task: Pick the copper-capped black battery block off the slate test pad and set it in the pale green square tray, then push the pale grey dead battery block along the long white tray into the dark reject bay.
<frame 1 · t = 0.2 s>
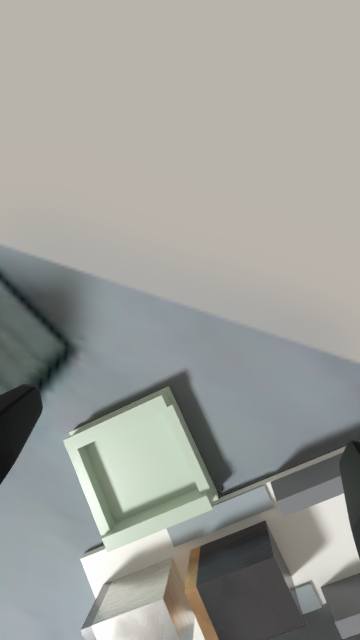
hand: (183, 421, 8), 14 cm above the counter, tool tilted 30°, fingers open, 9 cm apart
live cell: (239, 562, 21), point 1 cm above the counter, touching long white tray
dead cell: (148, 597, 22), point 1 cm above the counter, touching long white tray
long white tray: (245, 554, 21), on the counter
pale green square tray: (142, 461, 23), on the counter
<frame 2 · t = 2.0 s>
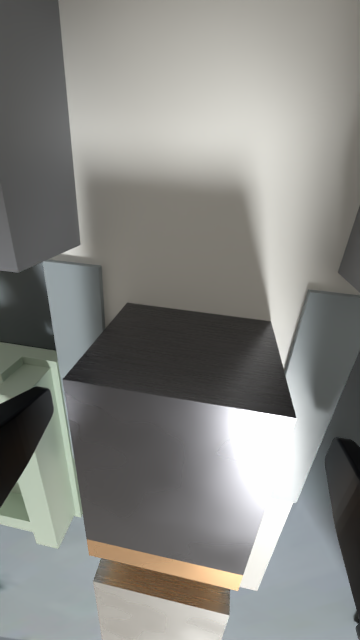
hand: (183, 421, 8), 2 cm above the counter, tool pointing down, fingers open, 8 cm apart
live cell: (188, 395, 9), point 1 cm above the counter, touching long white tray
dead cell: (175, 525, 13), point 1 cm above the counter, touching long white tray
long white tray: (192, 371, 10), on the counter
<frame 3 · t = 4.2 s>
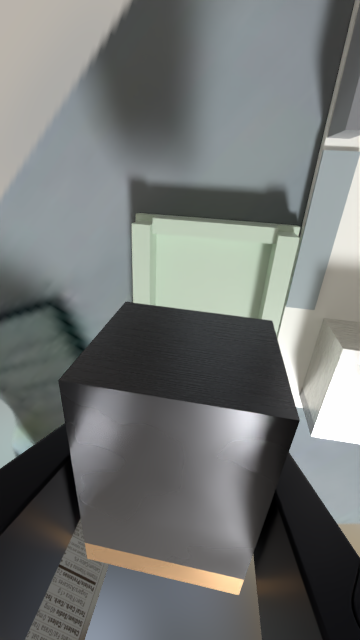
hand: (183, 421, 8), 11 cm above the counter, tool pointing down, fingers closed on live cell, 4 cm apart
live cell: (188, 395, 9), point 10 cm above the counter, touching gripper
coffee box: (97, 462, 28), on the counter
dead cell: (343, 364, 18), point 1 cm above the counter, touching long white tray
pale green square tray: (207, 293, 18), on the counter
when the fingers open (3 cm above the counter, at t = 5.9 s): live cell drops 1 cm, resting on pale green square tray.
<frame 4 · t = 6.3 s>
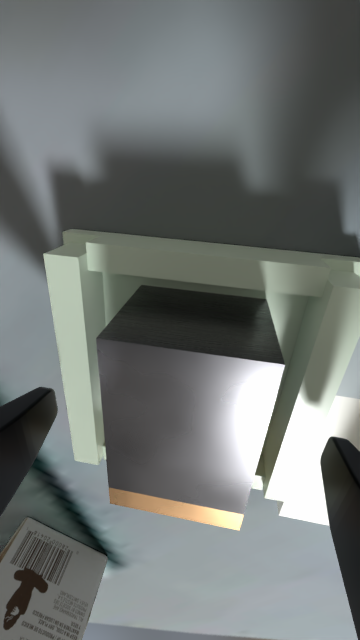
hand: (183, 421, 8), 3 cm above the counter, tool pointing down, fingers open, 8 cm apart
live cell: (194, 368, 10), point 1 cm above the counter, touching pale green square tray
coffee box: (49, 555, 21), on the counter
pale green square tray: (194, 360, 11), on the counter
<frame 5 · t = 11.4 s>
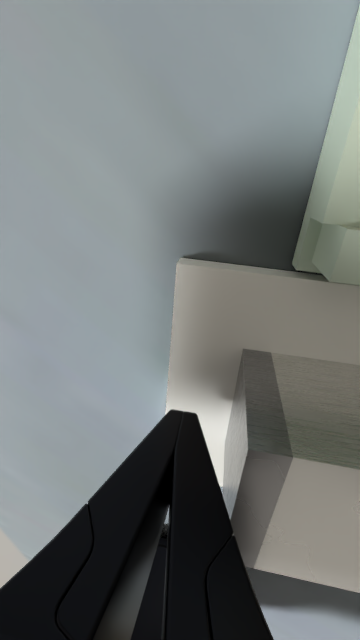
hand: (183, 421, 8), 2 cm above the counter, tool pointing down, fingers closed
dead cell: (330, 416, 9), point 1 cm above the counter, touching long white tray, gripper
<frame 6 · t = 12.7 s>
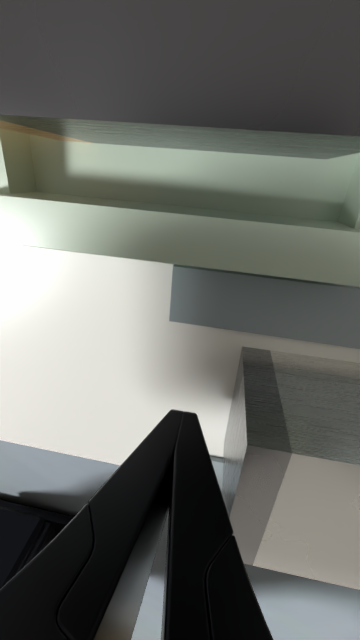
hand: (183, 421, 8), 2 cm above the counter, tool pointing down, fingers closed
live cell: (194, 28, 6), point 1 cm above the counter, touching pale green square tray
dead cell: (329, 414, 9), point 1 cm above the counter, touching long white tray, gripper
long white tray: (301, 401, 10), on the counter
pale green square tray: (194, 37, 6), on the counter
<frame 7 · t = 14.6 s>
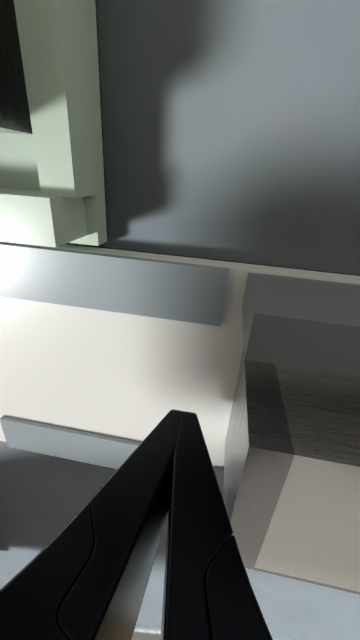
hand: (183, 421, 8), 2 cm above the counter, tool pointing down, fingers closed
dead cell: (331, 415, 9), point 1 cm above the counter, touching long white tray, gripper
long white tray: (113, 369, 10), on the counter
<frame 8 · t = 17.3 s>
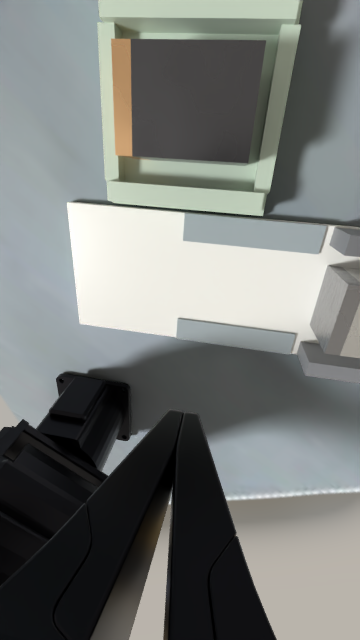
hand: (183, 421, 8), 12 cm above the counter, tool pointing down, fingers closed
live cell: (193, 118, 15), point 1 cm above the counter, touching pale green square tray
long white tray: (248, 286, 19), on the counter
pale green square tray: (193, 119, 15), on the counter
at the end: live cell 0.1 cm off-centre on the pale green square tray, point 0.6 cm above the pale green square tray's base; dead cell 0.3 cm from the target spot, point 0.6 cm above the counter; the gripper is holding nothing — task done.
